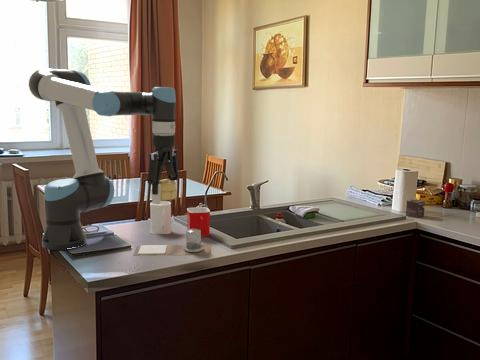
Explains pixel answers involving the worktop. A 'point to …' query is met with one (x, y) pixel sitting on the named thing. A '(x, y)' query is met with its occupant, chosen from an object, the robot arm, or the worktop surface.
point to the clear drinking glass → (193, 241)
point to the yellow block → (167, 189)
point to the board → (177, 251)
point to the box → (415, 208)
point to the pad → (152, 249)
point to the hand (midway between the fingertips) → (163, 201)
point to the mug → (160, 218)
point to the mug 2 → (199, 219)
